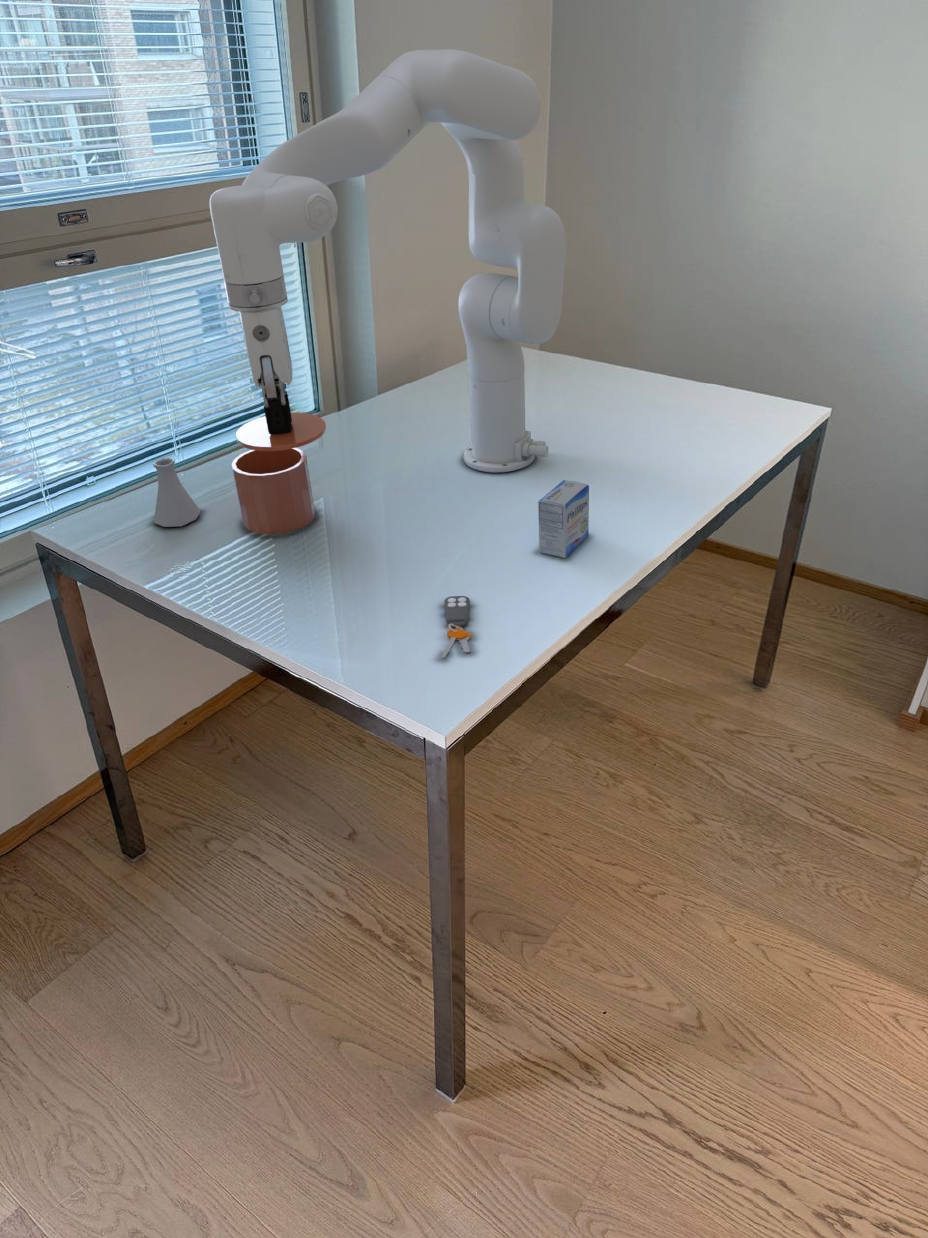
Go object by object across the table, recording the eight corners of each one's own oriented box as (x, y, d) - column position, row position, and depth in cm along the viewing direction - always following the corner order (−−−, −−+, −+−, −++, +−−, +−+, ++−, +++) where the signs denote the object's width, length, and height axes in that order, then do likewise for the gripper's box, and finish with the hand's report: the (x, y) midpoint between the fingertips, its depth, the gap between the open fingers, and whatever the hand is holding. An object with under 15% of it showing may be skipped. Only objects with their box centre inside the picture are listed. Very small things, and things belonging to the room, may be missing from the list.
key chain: (442, 604, 129) (442, 594, 128) (470, 602, 128) (469, 593, 128) (441, 659, 118) (441, 650, 117) (471, 658, 118) (471, 648, 117)
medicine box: (565, 559, 137) (565, 505, 132) (538, 552, 139) (537, 499, 134) (589, 536, 142) (590, 483, 138) (562, 530, 144) (562, 478, 140)
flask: (208, 510, 157) (195, 454, 151) (184, 530, 151) (170, 473, 146) (171, 506, 159) (157, 450, 153) (145, 526, 153) (130, 469, 148)
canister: (328, 509, 155) (319, 449, 149) (292, 541, 146) (281, 479, 140) (268, 500, 159) (257, 442, 153) (229, 532, 150) (216, 471, 144)
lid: (342, 424, 134) (336, 384, 131) (299, 459, 125) (292, 417, 122) (266, 416, 139) (259, 378, 135) (219, 450, 129) (210, 410, 126)
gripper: (286, 306, 115) (309, 447, 125) (286, 274, 128) (306, 404, 138) (223, 312, 114) (251, 454, 124) (230, 279, 127) (255, 410, 137)
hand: (280, 426), depth 131 cm, fingers closed on lid, 2 cm apart
